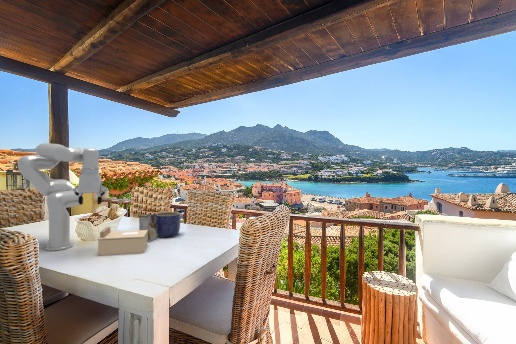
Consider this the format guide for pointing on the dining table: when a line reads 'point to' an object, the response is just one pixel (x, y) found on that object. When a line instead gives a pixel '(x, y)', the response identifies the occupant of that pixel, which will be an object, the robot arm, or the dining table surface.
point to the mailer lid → (121, 234)
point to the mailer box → (122, 246)
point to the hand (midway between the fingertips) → (90, 204)
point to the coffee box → (148, 225)
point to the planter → (167, 224)
